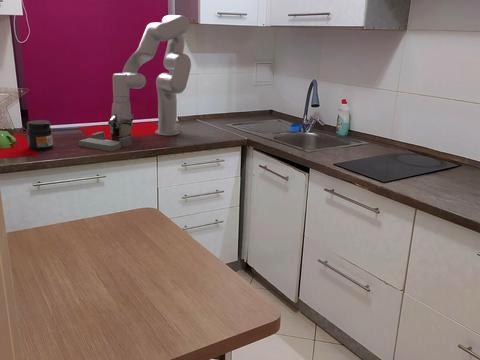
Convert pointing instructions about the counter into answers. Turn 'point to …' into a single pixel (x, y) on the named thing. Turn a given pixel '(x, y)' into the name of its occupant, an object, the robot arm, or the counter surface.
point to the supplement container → (39, 135)
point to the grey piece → (105, 142)
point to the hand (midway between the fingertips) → (122, 134)
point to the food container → (121, 130)
